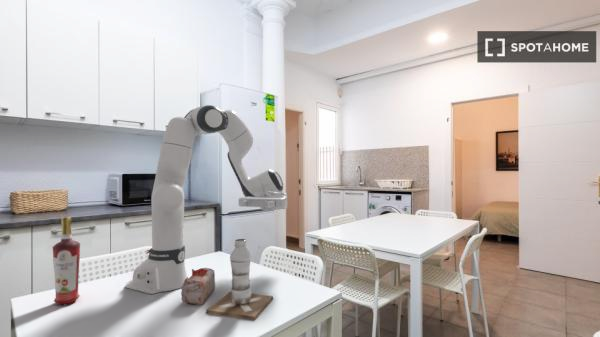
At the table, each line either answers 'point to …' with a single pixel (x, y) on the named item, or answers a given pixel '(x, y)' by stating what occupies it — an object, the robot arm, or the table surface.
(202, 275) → the food item
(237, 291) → the plastic bottle
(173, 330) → the table surface
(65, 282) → the liquor
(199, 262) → the table surface
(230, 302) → the brown board with cross
